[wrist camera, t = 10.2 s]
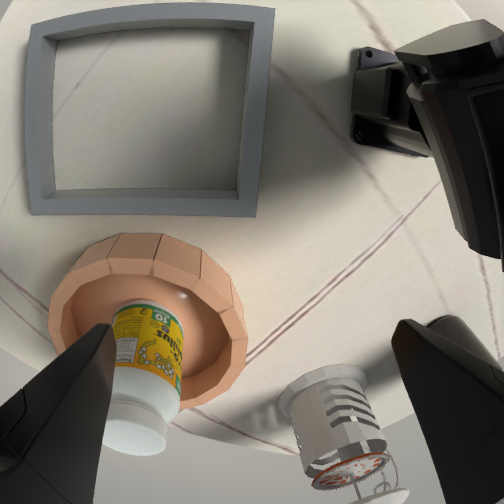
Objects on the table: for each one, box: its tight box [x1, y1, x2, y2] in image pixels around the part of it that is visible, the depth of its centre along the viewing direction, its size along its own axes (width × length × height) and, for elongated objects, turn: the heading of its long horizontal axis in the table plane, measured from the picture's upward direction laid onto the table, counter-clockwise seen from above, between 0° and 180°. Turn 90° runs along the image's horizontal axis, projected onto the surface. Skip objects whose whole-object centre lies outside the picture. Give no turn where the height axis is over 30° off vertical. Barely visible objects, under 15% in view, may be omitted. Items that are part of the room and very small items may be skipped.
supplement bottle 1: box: [102, 299, 184, 456], centre depth 17 cm, size 5×5×10 cm
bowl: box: [47, 233, 248, 409], centre depth 21 cm, size 14×14×4 cm
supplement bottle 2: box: [428, 316, 503, 371], centre depth 23 cm, size 7×7×12 cm
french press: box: [278, 364, 410, 504], centre depth 19 cm, size 10×12×25 cm
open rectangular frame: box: [24, 2, 275, 218], centre depth 15 cm, size 14×12×2 cm
